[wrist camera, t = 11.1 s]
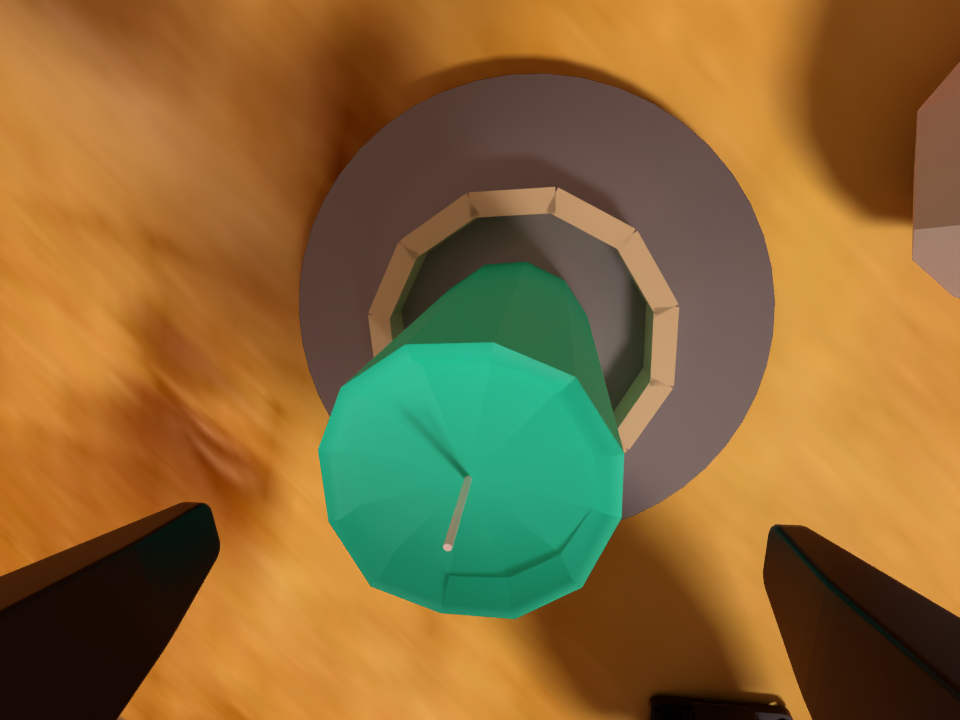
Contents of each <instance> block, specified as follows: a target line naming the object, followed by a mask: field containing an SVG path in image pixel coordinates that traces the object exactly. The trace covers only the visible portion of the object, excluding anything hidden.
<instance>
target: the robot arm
mask: <svg viewBox="0 0 960 720" xmlns="http://www.w3.org/2000/svg"><path fill="white" fill-rule="evenodd" d="M219 551H220V540H219V536H218V532H217V529H216V525H215V521H214V517H213V514H212V510H211V508H210V507H209V506H208V505H207V504H205V503H198V502H183V503H179V504H177V505H174V506H172V507H169V508H167V509H165V510H162V511H160V512H157V513H155V514H152V515H150V516H147V517H145V518H143V519H140V520H138V521H135V522H133V523H130V524H128V525H125V526H123V527H121V528H118V529H116V530H113V531H111V532H108V533H106V534H103V535H101V536H98V537H96V538H94V539H91V540H89V541H86V542H84V543H81V544H79V545H76V546H74V547H72V548H69V549H67V550H64V551H62V552H59V553H57V554H54V555H52V556H50V557H47V558H45V559H42V560H40V561H37V562H35V563H32V564H30V565H28V566H25V567H23V568H20V569H18V570H15V571H13V572H10V573H8V574H6V575H3V576H1V577H0V720H117V719H118V717H119V716H120V714H121V713H122V711H123V710H124V708H125V707H126V706H127V704H128V703H129V701H130V700H131V698H132V697H133V695H134V694H135V692H136V691H137V689H138V688H139V686H140V685H141V683H142V682H143V681H144V679H145V678H146V676H147V675H148V673H149V672H150V670H151V669H152V667H153V666H154V664H155V663H156V661H157V660H158V658H159V657H160V655H161V654H162V652H163V651H164V649H165V648H166V646H167V645H168V643H169V641H170V640H171V638H172V636H173V635H174V633H175V631H176V630H177V628H178V626H179V624H180V623H181V621H182V619H183V617H184V616H185V614H186V612H187V610H188V609H189V607H190V605H191V603H192V602H193V600H194V598H195V596H196V594H197V593H198V591H199V589H200V587H201V586H202V584H203V582H204V580H205V579H206V577H207V575H208V573H209V572H210V570H211V568H212V566H213V564H214V563H215V561H216V559H217V557H218V554H219ZM763 579H764V585H765V589H766V592H767V595H768V598H769V601H770V604H771V607H772V610H773V612H774V615H775V618H776V621H777V624H778V627H779V630H780V633H781V636H782V639H783V642H784V645H785V648H786V651H787V654H788V657H789V659H790V662H791V665H792V668H793V671H794V674H795V677H796V680H797V683H798V685H799V688H800V691H801V693H802V696H803V699H804V701H805V703H806V706H807V708H808V710H809V713H810V715H811V717H812V720H960V618H959V617H958V616H956V615H954V614H953V613H951V612H949V611H948V610H946V609H944V608H942V607H941V606H939V605H937V604H936V603H934V602H932V601H931V600H929V599H927V598H926V597H924V596H922V595H920V594H919V593H917V592H915V591H914V590H912V589H910V588H909V587H907V586H905V585H904V584H902V583H900V582H898V581H897V580H895V579H893V578H892V577H890V576H888V575H887V574H885V573H883V572H882V571H880V570H878V569H877V568H875V567H873V566H871V565H870V564H868V563H866V562H865V561H863V560H861V559H860V558H858V557H856V556H855V555H853V554H851V553H849V552H848V551H846V550H844V549H843V548H841V547H839V546H838V545H836V544H834V543H833V542H831V541H829V540H827V539H826V538H824V537H822V536H821V535H819V534H817V533H816V532H814V531H812V530H811V529H809V528H807V527H805V526H801V525H778V524H777V525H774V526H773V527H771V529H770V531H769V534H768V541H767V548H766V555H765V561H764V568H763ZM648 720H793V719H792V716H791V714H790V712H789V711H788V709H786V708H785V707H781V706H772V705H761V704H750V703H739V702H728V701H717V700H706V699H695V698H684V697H673V696H662V695H656V696H653V697H652V698H651V699H650V701H649V711H648Z"/></svg>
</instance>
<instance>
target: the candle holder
mask: <svg viewBox="0 0 960 720" xmlns="http://www.w3.org/2000/svg"><path fill="white" fill-rule="evenodd" d="M513 262H529V263H531V264H533V265H535V266H537V267H539V268H541V269H543V270H545V271H547V272H549V273H551V274H553V275H555V276H557V277H559V278H561V279H563V280H565V282H566V283H567V285H568V286H569V288H570V289H571V291H572V292H573V294H574V296H575V297H576V299H577V300H578V302H579V303H580V305H581V306H582V308H583V310H584V311H585V313H586V314H587V316H588V320H589V324H590V328H591V331H592V335H593V339H594V343H595V346H596V350H597V354H598V357H599V361H600V365H601V369H602V372H603V376H604V380H605V384H606V387H607V391H608V395H609V398H610V402H611V406H612V410H613V413H614V417H615V421H616V425H617V428H618V432H619V436H620V439H621V443H622V447H623V451H624V473H623V497H622V518H621V520H623V519H626V518H629V517H632V516H634V515H636V514H638V513H640V512H642V511H644V510H646V509H648V508H650V507H652V506H654V505H656V504H658V503H660V502H661V501H663V500H664V499H666V498H668V497H669V496H671V495H672V494H674V493H675V492H677V491H678V490H680V489H681V488H683V487H684V486H685V485H686V484H687V483H689V482H690V481H691V480H692V479H693V478H694V477H696V476H697V475H698V474H699V473H700V472H702V471H703V470H704V469H705V468H706V467H707V466H708V465H709V464H710V463H711V461H712V460H713V459H714V458H715V457H716V456H717V455H718V454H719V453H720V452H721V450H722V449H723V448H724V447H725V446H726V445H727V443H728V442H729V440H730V439H731V437H732V436H733V434H734V433H735V432H736V430H737V429H738V427H739V426H740V424H741V423H742V421H743V420H744V418H745V416H746V414H747V412H748V410H749V408H750V406H751V404H752V402H753V400H754V398H755V396H756V394H757V391H758V389H759V386H760V383H761V380H762V377H763V374H764V371H765V369H766V366H767V361H768V356H769V351H770V346H771V341H772V336H773V325H774V307H775V298H774V287H773V277H772V267H771V263H770V259H769V255H768V251H767V247H766V243H765V239H764V235H763V233H762V230H761V228H760V225H759V223H758V221H757V218H756V216H755V213H754V211H753V208H752V206H751V204H750V202H749V200H748V199H747V197H746V195H745V194H744V192H743V190H742V189H741V187H740V185H739V184H738V182H737V180H736V179H735V177H734V175H733V174H732V173H731V171H730V170H729V169H728V168H727V167H726V165H725V164H724V163H723V162H722V161H721V159H720V158H719V157H718V156H717V155H716V153H715V152H714V151H713V150H712V149H711V147H710V146H709V145H708V144H706V143H705V142H704V141H703V140H702V139H701V138H700V137H699V136H697V135H696V134H695V133H694V132H693V131H692V130H691V129H690V128H688V127H687V126H686V125H685V124H684V123H683V122H681V121H680V120H678V119H677V118H675V117H673V116H672V115H670V114H669V113H667V112H666V111H664V110H663V109H661V108H659V107H658V106H656V105H655V104H653V103H652V102H649V101H647V100H645V99H643V98H640V97H638V96H636V95H634V94H631V93H629V92H627V91H625V90H622V89H620V88H618V87H614V86H610V85H607V84H603V83H600V82H596V81H592V80H589V79H585V78H579V77H571V76H563V75H555V74H513V75H506V76H500V77H494V78H489V79H483V80H477V81H474V82H471V83H468V84H465V85H462V86H458V87H455V88H452V89H449V90H446V91H443V92H441V93H439V94H437V95H435V96H433V97H431V98H429V99H427V100H425V101H423V102H421V103H419V104H417V105H415V106H413V107H411V108H410V109H409V110H407V111H406V112H404V113H403V114H401V115H400V116H398V117H397V118H396V119H394V120H393V121H391V122H390V123H388V124H387V125H385V126H384V127H383V128H382V129H381V130H380V131H379V132H378V133H377V134H376V135H374V136H373V137H372V138H371V139H370V140H369V141H368V142H367V143H366V144H365V145H364V146H363V147H362V148H360V150H359V151H358V152H357V153H356V155H355V156H354V157H353V158H352V159H351V161H350V162H349V163H348V164H347V166H346V167H345V168H344V169H343V171H342V172H341V173H340V175H339V176H338V178H337V179H336V181H335V183H334V184H333V186H332V188H331V189H330V191H329V193H328V194H327V196H326V198H325V199H324V201H323V204H322V206H321V208H320V211H319V213H318V215H317V217H316V220H315V222H314V224H313V227H312V230H311V233H310V237H309V240H308V244H307V247H306V251H305V254H304V259H303V266H302V273H301V280H300V297H299V316H300V325H301V334H302V342H303V347H304V351H305V355H306V359H307V363H308V368H309V371H310V373H311V376H312V379H313V381H314V384H315V387H316V389H317V392H318V395H319V397H320V399H321V401H322V403H323V404H324V406H325V408H326V410H327V412H328V414H329V416H331V413H332V410H333V407H334V405H335V402H336V399H337V396H338V394H339V391H340V388H341V387H342V386H343V385H344V384H345V383H346V382H347V381H348V380H350V379H351V378H352V377H353V376H354V375H355V374H356V373H357V372H358V371H360V370H361V369H362V368H363V367H364V366H365V365H366V364H367V363H368V362H369V361H371V360H372V359H373V358H374V357H375V356H376V355H377V354H378V353H379V352H381V351H382V350H383V349H384V348H385V347H386V346H387V345H388V344H389V343H391V342H392V341H393V340H394V339H395V338H396V337H397V336H398V335H399V334H400V333H402V332H403V331H404V330H405V329H406V328H407V327H408V326H409V325H410V324H412V323H413V322H414V321H415V320H416V319H417V318H418V317H419V316H420V315H421V314H423V313H424V312H425V311H426V310H427V309H428V308H429V307H430V306H431V305H433V304H434V303H435V302H436V301H437V300H438V299H439V298H440V297H441V296H443V295H444V294H445V293H446V292H447V291H448V290H449V289H450V288H451V287H453V286H454V285H456V284H457V283H459V282H460V281H461V280H463V279H464V278H466V277H467V276H469V275H470V274H472V273H473V272H475V271H476V270H477V269H479V268H480V267H482V266H483V265H485V264H498V263H513Z"/></svg>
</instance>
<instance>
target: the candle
mask: <svg viewBox="0 0 960 720" xmlns="http://www.w3.org/2000/svg"><path fill="white" fill-rule="evenodd" d="M318 453H319V459H320V466H321V473H322V480H323V486H324V493H325V500H326V507H327V513H328V520H329V523H330V525H331V526H332V528H333V529H334V531H335V532H336V534H337V535H338V537H339V538H340V540H341V541H342V543H343V545H344V546H345V548H346V549H347V551H348V552H349V554H350V555H351V557H352V558H353V560H354V561H355V563H356V565H357V566H358V568H359V569H360V571H361V572H362V574H363V575H364V577H365V578H366V580H367V581H368V583H369V585H370V586H371V587H374V588H376V589H379V590H382V591H384V592H387V593H389V594H392V595H395V596H397V597H400V598H402V599H405V600H408V601H410V602H413V603H416V604H418V605H421V606H423V607H426V608H429V609H431V610H434V611H437V612H439V613H446V614H458V615H471V616H483V617H496V618H509V619H516V618H518V617H521V616H523V615H525V614H527V613H529V612H531V611H533V610H535V609H538V608H540V607H542V606H544V605H546V604H548V603H550V602H552V601H554V600H557V599H559V598H561V597H563V596H565V595H567V594H569V593H571V592H573V591H576V590H578V589H580V588H582V587H583V585H584V583H585V582H586V580H587V578H588V576H589V575H590V573H591V571H592V569H593V568H594V566H595V564H596V562H597V561H598V559H599V557H600V555H601V554H602V552H603V550H604V548H605V546H606V545H607V543H608V541H609V539H610V538H611V536H612V534H613V532H614V531H615V529H616V527H617V525H618V524H619V522H620V520H621V518H622V497H623V473H624V451H623V447H622V443H621V439H620V436H619V432H618V428H617V425H616V421H615V417H614V413H613V410H612V406H611V402H610V398H609V395H608V391H607V387H606V384H605V380H604V376H603V372H602V369H601V365H600V361H599V357H598V354H597V350H596V346H595V343H594V339H593V335H592V331H591V328H590V324H589V320H588V316H587V314H586V313H585V311H584V310H583V308H582V306H581V305H580V303H579V302H578V300H577V299H576V297H575V296H574V294H573V292H572V291H571V289H570V288H569V286H568V285H567V283H566V282H565V280H563V279H561V278H559V277H557V276H555V275H553V274H551V273H549V272H547V271H545V270H543V269H541V268H539V267H537V266H535V265H533V264H531V263H529V262H513V263H498V264H485V265H483V266H482V267H480V268H479V269H477V270H476V271H475V272H473V273H472V274H470V275H469V276H467V277H466V278H464V279H463V280H461V281H460V282H459V283H457V284H456V285H454V286H453V287H451V288H450V289H449V290H448V291H447V292H446V293H445V294H444V295H443V296H441V297H440V298H439V299H438V300H437V301H436V302H435V303H434V304H433V305H431V306H430V307H429V308H428V309H427V310H426V311H425V312H424V313H423V314H421V315H420V316H419V317H418V318H417V319H416V320H415V321H414V322H413V323H412V324H410V325H409V326H408V327H407V328H406V329H405V330H404V331H403V332H402V333H400V334H399V335H398V336H397V337H396V338H395V339H394V340H393V341H392V342H391V343H389V344H388V345H387V346H386V347H385V348H384V349H383V350H382V351H381V352H379V353H378V354H377V355H376V356H375V357H374V358H373V359H372V360H371V361H369V362H368V363H367V364H366V365H365V366H364V367H363V368H362V369H361V370H360V371H358V372H357V373H356V374H355V375H354V376H353V377H352V378H351V379H350V380H348V381H347V382H346V383H345V384H344V385H343V386H342V387H341V388H340V391H339V394H338V396H337V399H336V402H335V405H334V407H333V410H332V413H331V416H330V418H329V421H328V424H327V427H326V429H325V432H324V435H323V438H322V440H321V443H320V446H319V449H318Z"/></svg>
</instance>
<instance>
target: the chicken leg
mask: <svg viewBox="0 0 960 720" xmlns="http://www.w3.org/2000/svg"><path fill="white" fill-rule="evenodd" d="M912 260H913V261H914V262H915V263H916V264H917V265H919V266H920V267H921V268H922V269H923V270H924V271H925V272H926V273H928V274H929V275H930V276H931V277H932V278H933V279H934V280H935V281H937V282H938V283H939V284H940V285H941V286H942V287H943V288H944V289H945V290H947V291H948V292H949V293H950V294H951V295H952V296H954V297H957V298H960V62H959V63H958V64H957V65H956V67H955V68H954V69H953V70H952V71H951V72H950V74H949V75H948V76H947V77H946V78H945V79H944V81H943V82H942V83H941V84H940V85H939V86H938V87H937V89H936V90H935V91H934V92H933V93H932V94H931V96H930V97H929V98H928V99H927V100H926V101H925V103H924V104H923V105H922V106H921V107H920V108H919V110H918V111H917V127H916V145H915V162H914V180H913V247H912Z"/></svg>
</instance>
